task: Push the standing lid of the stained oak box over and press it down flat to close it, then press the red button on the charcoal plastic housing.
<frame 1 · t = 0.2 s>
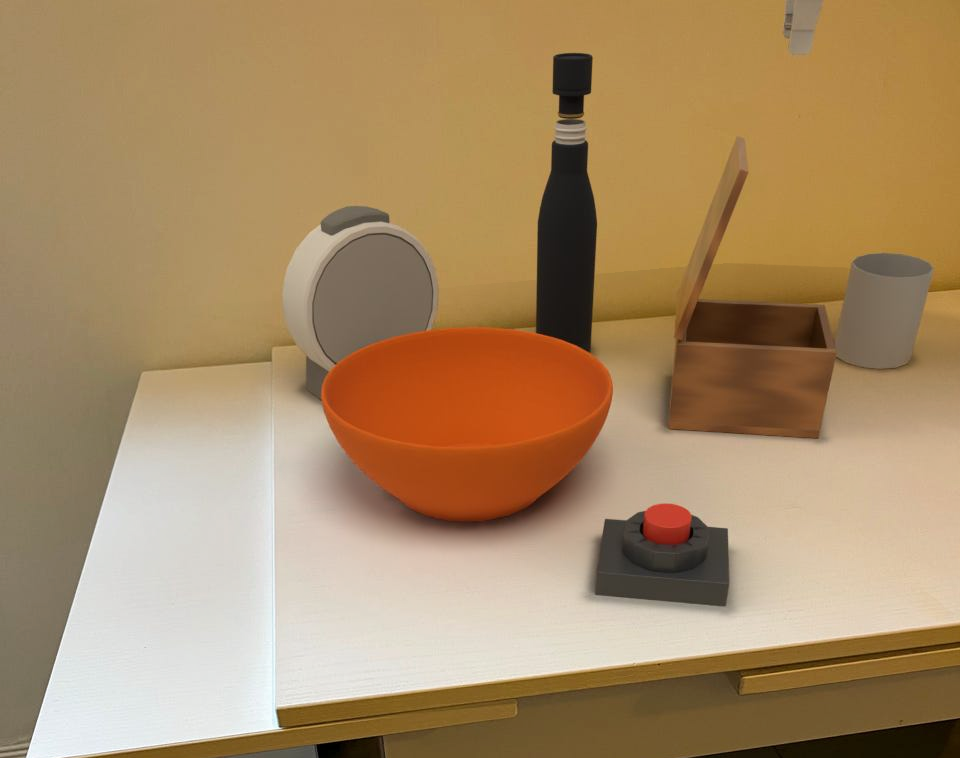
hand: (795, 45, 87), 32 cm above the table, tool pointing down, fingers open, 8 cm apart
bowl: (469, 484, 92), on the table
wine bottle: (562, 353, 116), on the table
button block: (661, 572, 80), on the table
box lid: (709, 238, 94), point 17 cm above the table, hinge at 75.0°
alarm clock: (370, 385, 110), on the table
cup: (871, 355, 114), on the table
start button: (667, 524, 77), point 4 cm above the table, slide at 0.1 cm
oak box: (740, 406, 103), on the table
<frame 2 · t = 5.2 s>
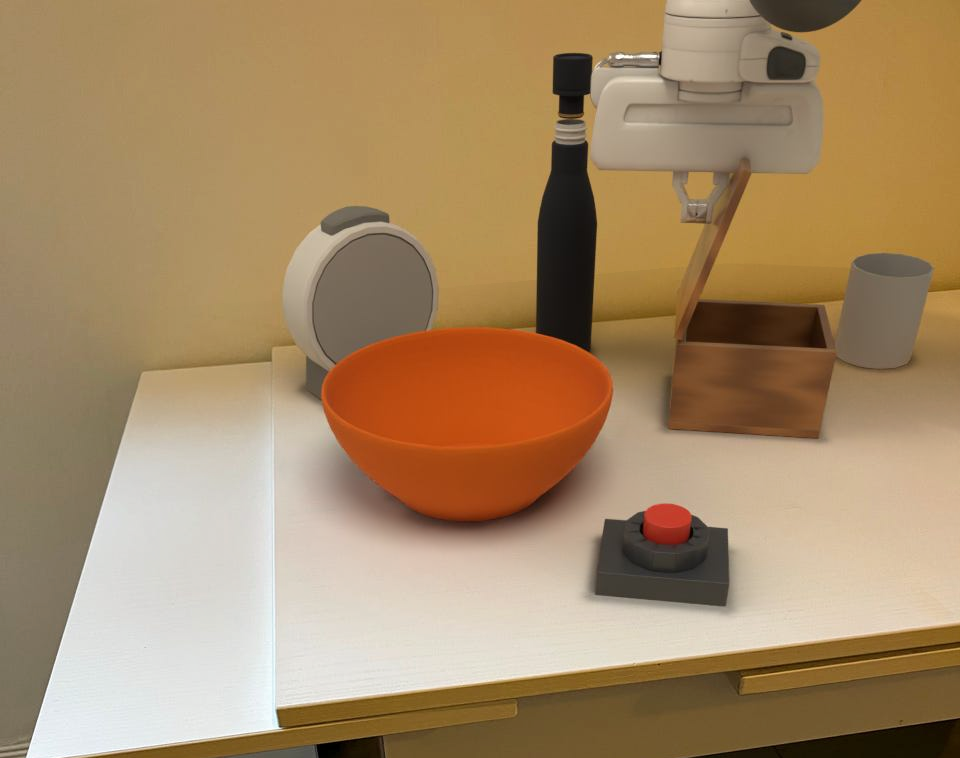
hand: (695, 221, 93), 18 cm above the table, tool pointing down, fingers closed
box lid: (710, 238, 94), point 17 cm above the table, hinge at 73.9°, touching gripper
everything else where it was.
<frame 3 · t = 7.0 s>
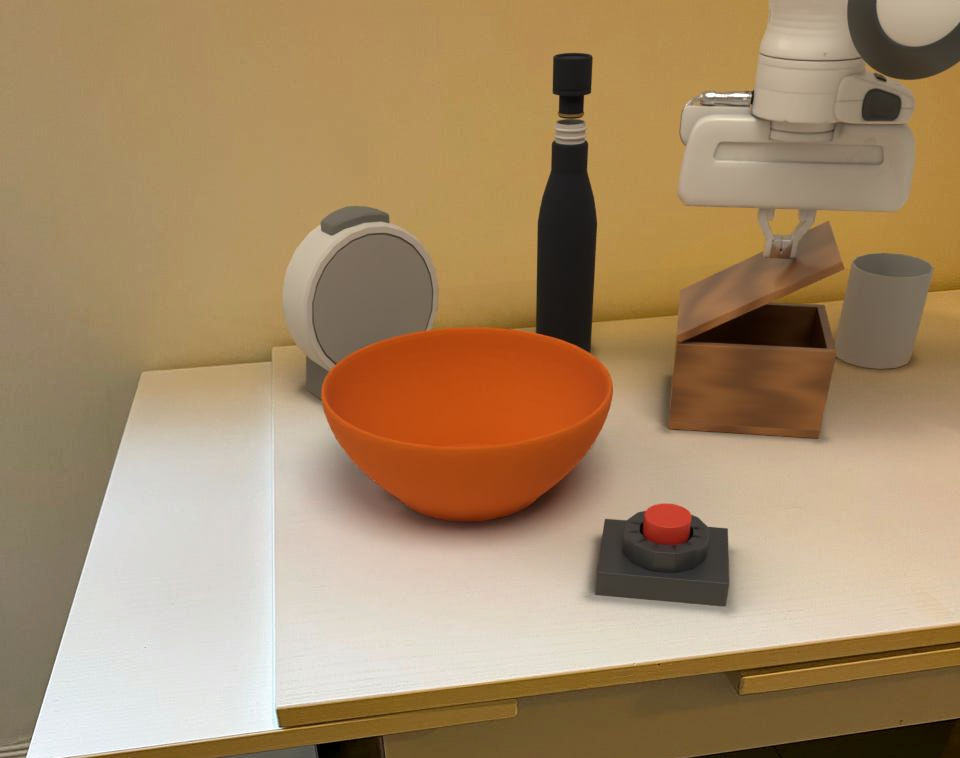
hand: (778, 257, 94), 15 cm above the table, tool pointing down, fingers closed
box lid: (755, 280, 95), point 13 cm above the table, hinge at 28.6°, touching gripper
everything else where it was.
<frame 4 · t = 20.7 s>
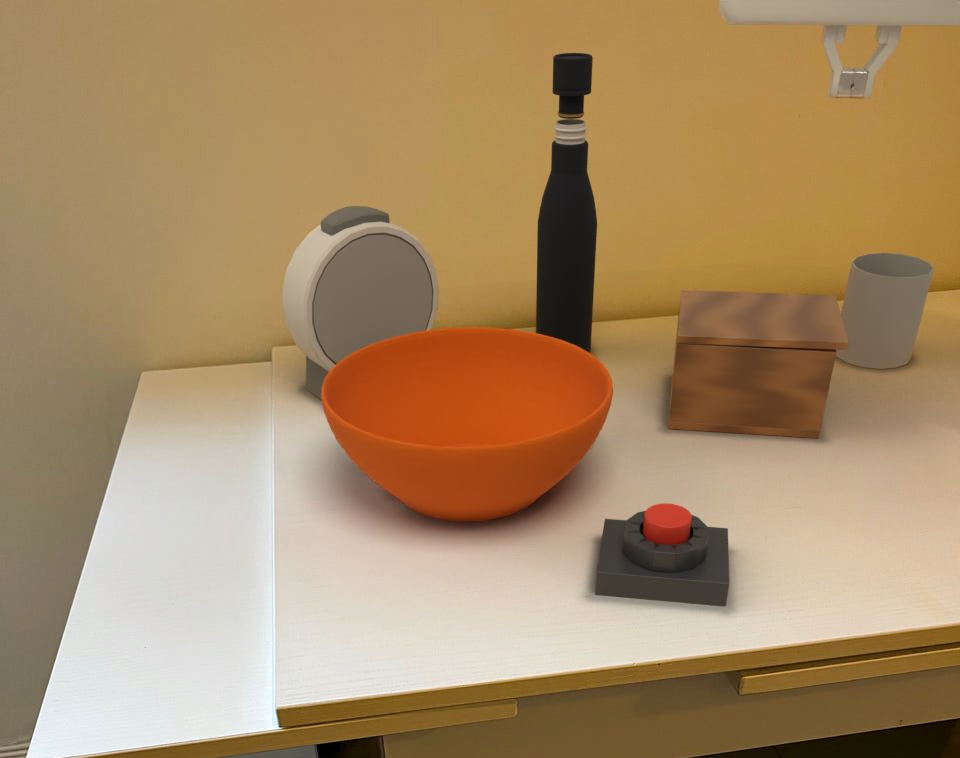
hand: (848, 97, 73), 31 cm above the table, tool pointing down, fingers closed
box lid: (759, 318, 98), point 9 cm above the table, hinge at 0.6°
everything else where it was.
at the end: box lid at +1° (first picture: +75°); start button pushed in 1.0 cm at the most during the clip, back to where it started at the end; start button slide at 0.1 cm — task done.
